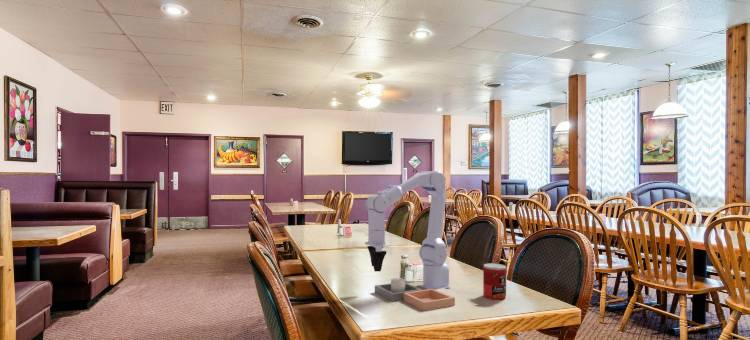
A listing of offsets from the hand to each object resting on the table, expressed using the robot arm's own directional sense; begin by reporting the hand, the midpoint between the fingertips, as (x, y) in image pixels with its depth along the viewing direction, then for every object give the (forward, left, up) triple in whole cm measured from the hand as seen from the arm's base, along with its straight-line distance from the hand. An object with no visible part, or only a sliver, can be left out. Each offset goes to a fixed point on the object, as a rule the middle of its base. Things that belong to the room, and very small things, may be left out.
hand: (376, 268), depth 147 cm
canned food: (-37, +19, -10) cm, 43 cm away
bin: (-7, +3, -10) cm, 12 cm away
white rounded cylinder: (-7, +3, -9) cm, 12 cm away
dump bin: (-11, +16, -10) cm, 21 cm away
